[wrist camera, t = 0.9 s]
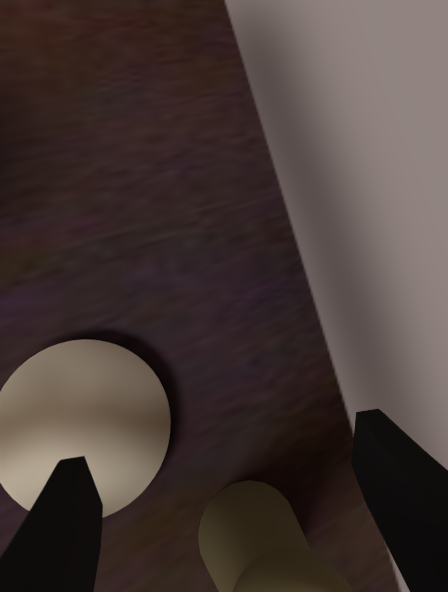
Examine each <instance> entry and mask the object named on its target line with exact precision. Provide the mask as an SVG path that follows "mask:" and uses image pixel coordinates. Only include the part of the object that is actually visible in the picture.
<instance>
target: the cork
mask: <svg viewBox="0 0 448 592" xmlns="http://www.w3.org/2000/svg"><path fill="white" fill-rule="evenodd" d="M198 540H199V548H200V554H201V556H202V558H203V561H204V563H205V565H206V567H207V569H208V571H209V573H210V575H211V577H212V579H213V581H214V583H215V585H216V587H217V589H218V591H219V592H353V591H352V589H351V587H350V585H349V583H348V582H347V581H346V580H345V579H344V578H343V577H342V576H341V575H340V573H339V572H338V571H337V570H336V569H335V568H334V567H333V566H332V565H331V564H330V563H329V562H328V561H326V560H325V559H323V558H321V557H319V556H317V555H315V554H313V553H312V551H311V549H310V547H309V544H308V542H307V540H306V538H305V536H304V534H303V531H302V529H301V527H300V525H299V523H298V521H297V518H296V516H295V514H294V512H293V510H292V508H291V506H290V504H289V502H288V500H287V499H286V498H285V497H284V496H283V495H282V494H281V493H280V492H279V491H278V490H277V489H275V488H273V487H272V486H270V485H268V484H266V483H264V482H258V481H251V480H247V481H242V482H237V483H233V484H231V485H229V486H228V487H226V488H224V489H222V490H221V491H219V492H218V493H217V494H216V496H215V497H214V498H213V499H212V500H211V501H210V502H209V503H208V505H207V507H206V509H205V511H204V513H203V515H202V517H201V521H200V527H199V533H198Z"/></svg>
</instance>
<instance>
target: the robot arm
mask: <svg viewBox="0 0 448 592" xmlns="http://www.w3.org/2000/svg"><path fill="white" fill-rule="evenodd" d="M351 464H352V466H353V469H354V472H355V475H356V478H357V480H358V483H359V486H360V489H361V491H362V494H363V496H364V499H365V502H366V504H367V506H368V508H369V510H370V512H371V514H372V516H373V518H374V520H375V522H376V524H377V526H378V528H379V530H380V532H381V534H382V536H383V538H384V540H385V542H386V544H387V546H388V548H389V550H390V552H391V554H392V556H393V558H394V560H395V562H396V564H397V566H398V568H399V570H400V572H401V574H402V576H403V578H404V580H405V582H406V584H407V586H408V588H409V590H410V592H448V470H447V469H445V468H444V467H443V466H442V465H441V464H439V463H438V462H437V461H436V460H435V459H434V458H432V457H431V456H430V455H429V454H428V453H427V452H426V451H424V450H423V449H422V448H421V447H420V446H419V445H418V444H417V443H416V442H414V441H413V440H412V439H411V438H410V437H409V436H408V435H407V434H406V433H405V432H404V431H402V430H401V429H400V428H399V427H398V426H397V425H396V424H395V423H394V422H393V421H392V420H391V419H389V418H388V417H387V416H386V415H385V414H384V413H383V412H382V411H381V410H379V409H374V410H368V411H361V412H356V421H355V432H354V442H353V452H352V463H351ZM102 516H103V504H102V501H101V498H100V496H99V493H98V490H97V488H96V485H95V482H94V480H93V477H92V475H91V472H90V469H89V467H88V464H87V461H86V459H85V456H80V457H74V458H68V459H62V460H60V461H59V462H58V463H57V465H56V466H55V468H54V470H53V472H52V473H51V475H50V477H49V479H48V480H47V482H46V484H45V486H44V487H43V489H42V491H41V493H40V494H39V496H38V498H37V499H36V501H35V503H34V504H33V506H32V508H31V509H30V511H29V513H28V514H27V516H26V518H25V519H24V521H23V522H22V524H21V526H20V527H19V529H18V530H17V532H16V534H15V535H14V537H13V538H12V540H11V542H10V543H9V545H8V546H7V548H6V549H5V551H4V552H3V554H2V556H1V557H0V592H93V590H94V584H95V578H96V572H97V566H98V560H99V554H100V547H101V533H102Z"/></svg>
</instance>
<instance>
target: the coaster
mask: <svg viewBox="0 0 448 592" xmlns="http://www.w3.org/2000/svg"><path fill="white" fill-rule="evenodd" d="M170 424H171V419H170V409H169V404H168V399H167V396H166V393H165V391H164V388H163V386H162V384H161V382H160V380H159V378H158V377H157V376H156V374H155V373H154V371H153V370H152V369H151V368H150V367H149V366H148V365H147V364H146V362H144V361H143V360H142V359H141V358H140V357H138V356H137V355H135V354H134V353H132V352H131V351H129V350H127V349H125V348H123V347H120V346H118V345H116V344H112V343H109V342H105V341H99V340H84V339H83V340H73V341H68V342H63V343H59V344H57V345H54V346H51V347H49V348H47V349H45V350H43V351H41V352H39V353H37V354H36V355H34V356H33V357H31V358H30V359H28V360H27V361H26V362H25V363H23V364H22V365H21V366H20V367H19V368H18V369H17V370H16V371H15V372H14V373H13V374H12V375H11V377H10V378H9V379H8V381H7V382H6V384H5V385H4V386H3V388H2V390H1V392H0V482H1V484H2V485H3V487H4V489H5V490H6V491H7V492H8V493H9V495H10V496H11V497H12V498H13V499H14V500H15V501H16V502H18V503H19V504H20V505H21V506H22V507H24V508H25V509H27V510H29V511H30V509H31V508H32V506H33V504H34V503H35V501H36V499H37V498H38V496H39V494H40V493H41V491H42V489H43V487H44V486H45V484H46V482H47V480H48V479H49V477H50V475H51V473H52V472H53V470H54V468H55V466H56V465H57V463H58V462H59V461H60V460H62V459H68V458H74V457H80V456H85V459H86V461H87V464H88V467H89V469H90V472H91V475H92V477H93V480H94V482H95V485H96V488H97V490H98V493H99V496H100V498H101V501H102V504H103V516H102V517H105V516H108V515H110V514H112V513H114V512H117V511H118V510H120V509H122V508H123V507H125V506H127V505H128V504H129V503H130V502H132V501H133V500H134V499H136V498H137V497H138V496H139V495H140V494H141V493H142V492H143V491H144V490H145V489H146V488H147V486H148V485H149V484H150V482H151V481H152V480H153V479H154V477H155V475H156V474H157V472H158V470H159V468H160V466H161V464H162V462H163V460H164V457H165V454H166V451H167V447H168V443H169V437H170Z"/></svg>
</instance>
